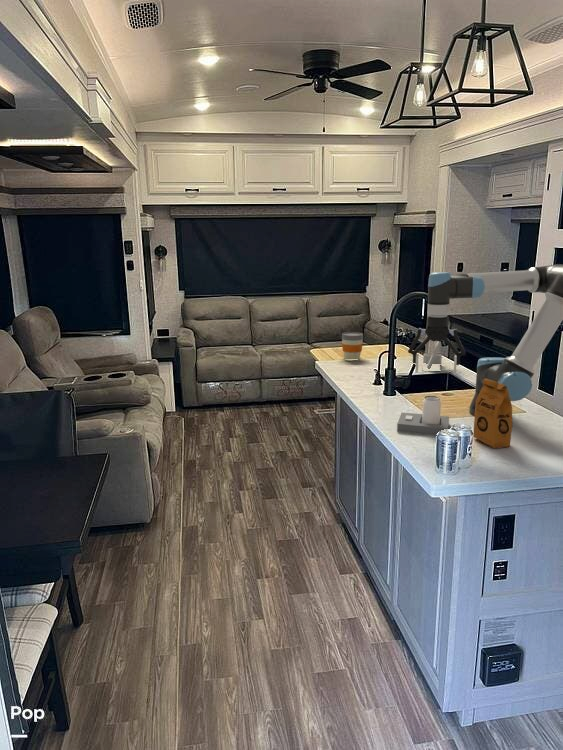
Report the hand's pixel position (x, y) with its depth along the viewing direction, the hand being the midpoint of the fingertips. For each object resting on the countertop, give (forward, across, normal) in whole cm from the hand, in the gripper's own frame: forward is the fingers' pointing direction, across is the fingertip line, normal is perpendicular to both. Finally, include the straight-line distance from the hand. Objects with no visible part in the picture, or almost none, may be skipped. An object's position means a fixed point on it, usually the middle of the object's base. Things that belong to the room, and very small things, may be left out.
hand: (435, 372), depth 206 cm
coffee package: (+22, -20, +11) cm, 32 cm away
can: (+21, +1, +2) cm, 21 cm away
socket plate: (+21, +4, +2) cm, 22 cm away
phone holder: (+22, +5, -97) cm, 100 cm away
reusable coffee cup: (+21, +50, -108) cm, 121 cm away
